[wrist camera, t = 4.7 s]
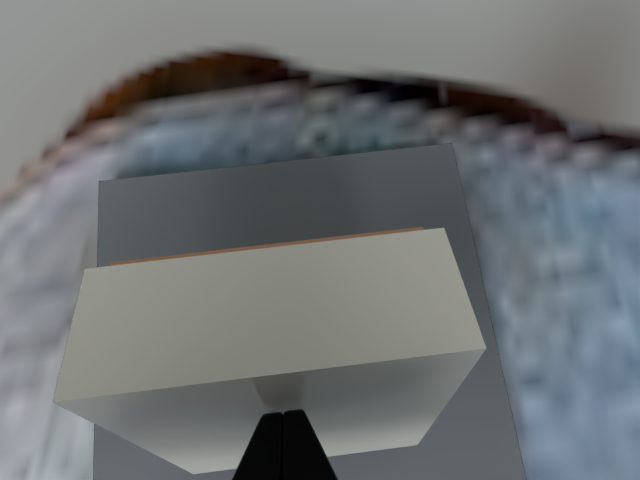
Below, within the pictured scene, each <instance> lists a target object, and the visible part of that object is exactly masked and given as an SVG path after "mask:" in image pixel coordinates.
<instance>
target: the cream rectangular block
mask: <svg viewBox="0 0 640 480" xmlns="http://www.w3.org/2000/svg"><path fill="white" fill-rule="evenodd" d="M485 350H486V345H485V343H484V340H483V337H482V334H481V331H480V328H479V325H478V323H477V320H476V317H475V314H474V311H473V308H472V306H471V303H470V300H469V297H468V294H467V291H466V288H465V286H464V283H463V280H462V277H461V274H460V271H459V269H458V266H457V263H456V260H455V257H454V254H453V252H452V249H451V246H450V243H449V240H448V237H447V234H446V232H445V229H444V228H436V229H428V230H424V228H423V227H415V228H406V229H397V230H389V231H380V232H371V233H362V234H354V235H345V236H336V237H327V238H319V239H310V240H301V241H292V242H284V243H275V244H266V245H257V246H249V247H240V248H231V249H222V250H214V251H205V252H196V253H187V254H179V255H170V256H161V257H152V258H144V259H135V260H126V261H117V262H110V266H104V267H96V268H87V269H85V271H84V275H83V279H82V283H81V287H80V291H79V295H78V299H77V303H76V308H75V312H74V316H73V320H72V324H71V328H70V332H69V336H68V340H67V344H66V348H65V353H64V357H63V361H62V365H61V369H60V373H59V377H58V381H57V385H56V389H55V394H54V398H53V403H55V404H57V405H59V406H61V407H63V408H65V409H67V410H69V411H71V412H73V413H75V414H77V415H79V416H81V417H83V418H85V419H86V420H88V421H90V422H92V423H94V424H96V425H98V426H100V427H102V428H104V429H106V430H108V431H110V432H112V433H114V434H116V435H118V436H120V437H122V438H124V439H126V440H127V441H129V442H131V443H133V444H135V445H137V446H139V447H141V448H143V449H145V450H147V451H149V452H151V453H153V454H155V455H157V456H159V457H161V458H163V459H165V460H167V461H169V462H170V463H172V464H174V465H176V466H178V467H180V468H182V469H184V470H186V471H188V472H190V473H192V474H199V473H207V472H214V471H222V470H230V469H237V467H238V465H239V463H240V461H241V458H242V456H243V454H244V452H245V450H246V448H247V445H248V443H249V441H250V439H251V437H252V435H253V433H254V430H255V428H256V426H257V424H258V422H259V420H260V418H261V416H262V415H263V414H265V413H273V412H282V413H283V414H284V412H285V411H288V410H296V409H303V410H304V411H305V413H306V415H307V417H308V419H309V421H310V423H311V425H312V427H313V429H314V431H315V433H316V435H317V437H318V439H319V441H320V443H321V445H322V447H323V450H324V452H325V454H326V456H327V457H330V456H337V455H345V454H353V453H361V452H368V451H376V450H384V449H391V448H399V447H407V446H414V445H418V443H419V442H420V441H421V439H422V438H423V436H424V435H425V434H426V432H427V431H428V429H429V428H430V427H431V425H432V424H433V422H434V421H435V420H436V418H437V417H438V416H439V414H440V413H441V411H442V410H443V409H444V407H445V406H446V404H447V403H448V402H449V400H450V399H451V397H452V396H453V395H454V393H455V392H456V390H457V389H458V388H459V386H460V385H461V383H462V382H463V381H464V379H465V378H466V376H467V375H468V374H469V372H470V371H471V369H472V368H473V367H474V365H475V364H476V362H477V361H478V360H479V358H480V357H481V355H482V354H483V353H484V351H485Z"/></svg>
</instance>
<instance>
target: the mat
mask: <svg viewBox="0 0 640 480" xmlns="http://www.w3.org/2000/svg"><path fill="white" fill-rule="evenodd" d="M415 227H423V228H424V230H428V229H436V228H444V229H445V232H446V234H447V237H448V240H449V243H450V246H451V249H452V252H453V254H454V257H455V260H456V263H457V266H458V269H459V271H460V274H461V277H462V280H463V283H464V286H465V288H466V291H467V294H468V297H469V300H470V303H471V306H472V308H473V311H474V314H475V317H476V320H477V323H478V325H479V328H480V331H481V334H482V337H483V340H484V343H485V345H486V350H485V351H484V353H483V354H482V355H481V357H480V358H479V360H478V361H477V362H476V364H475V365H474V367H473V368H472V369H471V371H470V372H469V374H468V375H467V376H466V378H465V379H464V381H463V382H462V383H461V385H460V386H459V388H458V389H457V390H456V392H455V393H454V395H453V396H452V397H451V399H450V400H449V402H448V403H447V404H446V406H445V407H444V409H443V410H442V411H441V413H440V414H439V416H438V417H437V418H436V420H435V421H434V422H433V424H432V425H431V427H430V428H429V429H428V431H427V432H426V434H425V435H424V436H423V438H422V439H421V441H420V442H419V443H418V445H414V446H407V447H399V448H391V449H384V450H376V451H368V452H361V453H353V454H345V455H337V456H330V457H327V458H328V460H329V462H330V464H331V466H332V468H333V470H334V472H335V474H336V476H337V478H338V480H526V476H525V471H524V467H523V462H522V458H521V453H520V448H519V444H518V439H517V435H516V430H515V426H514V421H513V417H512V412H511V408H510V403H509V399H508V394H507V390H506V385H505V381H504V376H503V372H502V367H501V363H500V358H499V353H498V349H497V344H496V340H495V335H494V331H493V326H492V322H491V317H490V313H489V308H488V304H487V299H486V295H485V290H484V286H483V281H482V277H481V272H480V268H479V263H478V259H477V254H476V249H475V245H474V240H473V236H472V231H471V227H470V222H469V218H468V213H467V209H466V204H465V200H464V195H463V191H462V186H461V182H460V177H459V173H458V168H457V164H456V159H455V154H454V150H453V145H452V143H447V144H438V145H429V146H419V147H410V148H401V149H392V150H383V151H373V152H364V153H355V154H346V155H336V156H327V157H318V158H309V159H300V160H290V161H281V162H272V163H263V164H253V165H244V166H235V167H226V168H216V169H207V170H198V171H189V172H180V173H170V174H161V175H152V176H143V177H133V178H124V179H115V180H106V181H99V197H98V249H97V267H104V266H110V262H117V261H126V260H135V259H144V258H152V257H161V256H170V255H179V254H187V253H196V252H205V251H214V250H222V249H231V248H240V247H249V246H257V245H266V244H275V243H284V242H292V241H301V240H310V239H319V238H327V237H336V236H345V235H354V234H362V233H371V232H380V231H389V230H397V229H406V228H415ZM235 471H236V469H230V470H222V471H214V472H207V473H199V474H192V473H190V472H188V471H186V470H184V469H182V468H180V467H178V466H176V465H174V464H172V463H170V462H169V461H167V460H165V459H163V458H161V457H159V456H157V455H155V454H153V453H151V452H149V451H147V450H145V449H143V448H141V447H139V446H137V445H135V444H133V443H131V442H129V441H127V440H126V439H124V438H122V437H120V436H118V435H116V434H114V433H112V432H110V431H108V430H106V429H104V428H102V427H100V426H98V425H96V424H94V457H93V480H232V478H233V476H234V473H235Z"/></svg>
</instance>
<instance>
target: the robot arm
mask: <svg viewBox="0 0 640 480" xmlns="http://www.w3.org/2000/svg"><path fill="white" fill-rule="evenodd" d="M232 480H338V478H337V476H336V474H335V472H334V470H333V468H332V466H331V464H330V462H329V460H328V458H327V456H326V454H325V452H324V450H323V447H322V445H321V443H320V441H319V439H318V437H317V435H316V433H315V431H314V429H313V427H312V425H311V423H310V421H309V419H308V417H307V415H306V413H305V411H304V410H303V409H296V410H288V411H285V412H284V414H283V413H282V412H273V413H265V414H263V415H262V416H261V418H260V420H259V422H258V424H257V426H256V428H255V430H254V433H253V435H252V437H251V439H250V441H249V443H248V445H247V448H246V450H245V452H244V454H243V456H242V458H241V461H240V463H239V465H238V467H237V469H236V471H235V473H234V476H233V478H232Z"/></svg>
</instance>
